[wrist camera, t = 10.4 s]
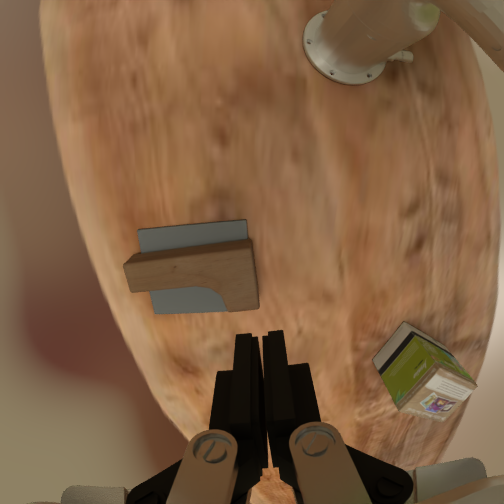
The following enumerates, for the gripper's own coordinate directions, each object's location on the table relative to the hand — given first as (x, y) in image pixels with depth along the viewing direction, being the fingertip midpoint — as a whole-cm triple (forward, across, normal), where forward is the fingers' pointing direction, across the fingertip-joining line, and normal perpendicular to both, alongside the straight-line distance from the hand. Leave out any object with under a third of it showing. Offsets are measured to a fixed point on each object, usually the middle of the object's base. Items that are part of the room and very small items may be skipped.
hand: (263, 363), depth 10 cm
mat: (+32, +10, +9) cm, 35 cm away
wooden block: (+29, +1, +10) cm, 31 cm away
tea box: (+32, -27, +32) cm, 53 cm away
